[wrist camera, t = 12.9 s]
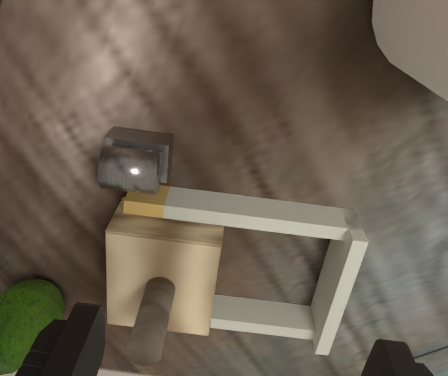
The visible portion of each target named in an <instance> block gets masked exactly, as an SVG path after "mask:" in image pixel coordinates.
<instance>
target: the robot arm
mask: <svg viewBox="0 0 448 376" xmlns="http://www.w3.org/2000/svg"><path fill="white" fill-rule="evenodd" d="M0 4H1V0H0ZM104 348H105V317H104V306H103V305H97V304H89V303H80V302H77V303H76V304H75V305H74V307H73V309H72V311H71V313H70V315H69V317H68V319H67V320H59V319H54V320H53V321H51V322H50V323H49V324H48V325H47V326H46V327H45V328H44V329H42V330H41V331H40V332H39V333H38V335H37V337H36V339H35V341H34V342H33V344H32V346H31V348H30V351H29V353H27V355H26V357H25V359H24V360H23V362H22V366H21V367H20V368H19V369H18V371H17V373H16V375H15V376H97V373H98V370H99V367H100V365H101V361H102V358H103V353H104ZM361 376H434V375H433V374H432V373H431V372H430V371H429V369H428V368H427V367H426V366H425V365H424V364H422V363H415V361H414V358H413V356H412V354H411V351H410V349H409V347H408V345H407V344H406V343H404V342H399V341H390V340H382V339H378V340H376V342H375V343H374V346H373V348H372V350H371V353H370V355H369V357H368V360H367V362H366V364H365V367H364V369H363V371H362V375H361Z"/></svg>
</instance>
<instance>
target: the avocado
mask: <svg viewBox="0 0 448 376" xmlns="http://www.w3.org/2000/svg"><path fill="white" fill-rule="evenodd" d="M64 310H65V302H64V298H63V296H62V293H61V291H60V289H59V288H58V287H57V286H55V285H54V284H52V283H51V282H49V281H46V280H42V279H32V280H25V281H22V282H19V283H16V284H14V285H12V286H11V287H9V288H8V289H7V290H6V291H5V292H3V293H2V294H1V295H0V375H3V374H9V373H13V372H15V371H16V370H18V369H19V368H20V367H21V366H22V362H23V360H24V359H25V357H26V355H27V353H29V351H30V348H31V346H32V344H33V342H34V341H35V339H36V337H37V335H38V333H39V332H40V331H41V330H42V329H44V328H45V327H46V326H47V325H48V324H49V323H50V322H51V321H53V320H54V319H59V320H63V317H64Z"/></svg>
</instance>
